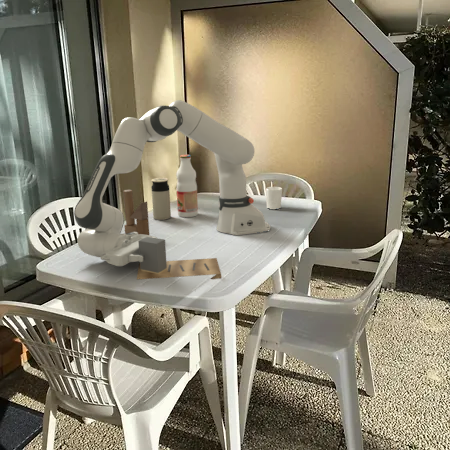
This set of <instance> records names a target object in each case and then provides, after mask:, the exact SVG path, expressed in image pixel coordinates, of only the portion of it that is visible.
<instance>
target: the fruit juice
mask: <svg viewBox="0 0 450 450" xmlns="http://www.w3.org/2000/svg"><path fill="white" fill-rule="evenodd" d="M179 159H180V164H179V167H178V169H177V170H176V175H175V176H176V177H175V178H176V180H177V183H176V203H177V215H178V216H179V217H181V218H193V217H196V216H198V213H199V206H198V185H197V181H196V180H197V179H196V178H197V172H196V169H194V167H193V165H192V163H191V159H192V157H191V154H180V156H179Z"/></svg>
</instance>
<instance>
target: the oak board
mask: <svg viewBox="0 0 450 450" xmlns="http://www.w3.org/2000/svg"><path fill="white" fill-rule="evenodd" d="M166 264H167V269H166V270H164V271H163V272H161V273H159V274H156V273H151V272H146V271H142V270H141V268H140V262H139V263H138V268H137V275H136V280H147V279H164V278H179V277H193V276H194V277H195V276H196V277H197V276H208V275H209V276H211V275H212V277H211V278H210V280H216V279H222V272H221V269H220V268H221V267H220V265H219V262H218V259H217V257H213V258H212V257H211V258H194V259H182V260H181V259H179V260H166Z"/></svg>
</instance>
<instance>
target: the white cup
mask: <svg viewBox="0 0 450 450" xmlns="http://www.w3.org/2000/svg"><path fill="white" fill-rule="evenodd" d="M282 197H283V188H282V187H279V186H268V187H266V188H265V203H266V209H267V208H270V209H276V208H280V207H281V208H282Z"/></svg>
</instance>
